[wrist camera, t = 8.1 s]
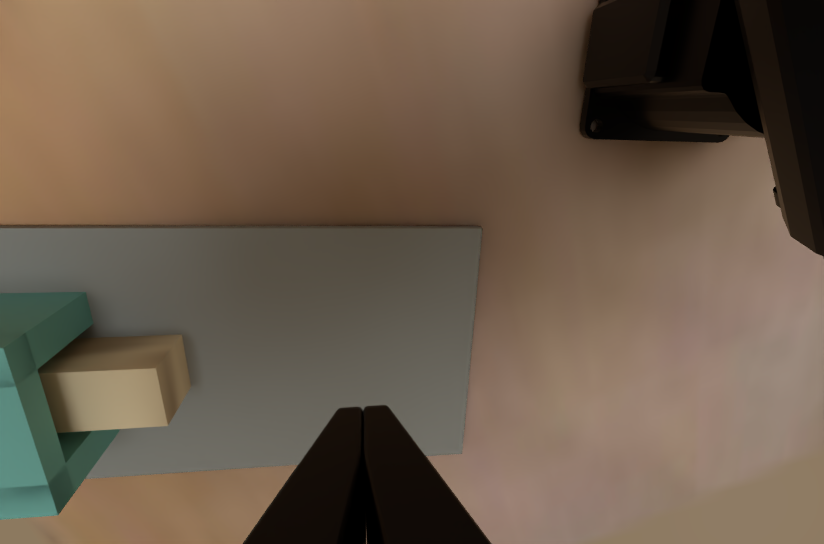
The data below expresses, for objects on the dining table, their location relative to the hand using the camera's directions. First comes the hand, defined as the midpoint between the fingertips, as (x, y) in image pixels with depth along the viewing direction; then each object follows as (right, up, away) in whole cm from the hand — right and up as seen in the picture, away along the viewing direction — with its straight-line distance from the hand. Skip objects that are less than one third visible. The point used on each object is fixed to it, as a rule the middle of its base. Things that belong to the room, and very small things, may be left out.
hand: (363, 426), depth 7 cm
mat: (-6, -1, +12) cm, 14 cm away
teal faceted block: (-14, -1, +11) cm, 18 cm away
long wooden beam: (-13, -1, +11) cm, 17 cm away
